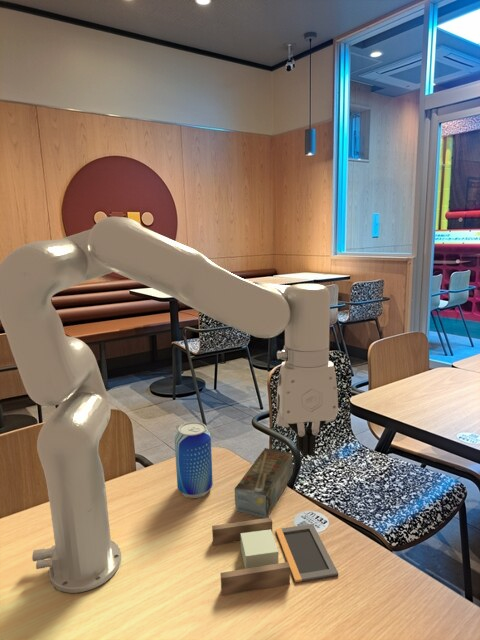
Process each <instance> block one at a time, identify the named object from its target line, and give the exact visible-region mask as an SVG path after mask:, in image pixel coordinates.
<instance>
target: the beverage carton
mask: <svg viewBox="0 0 480 640" xmlns="http://www.w3.org/2000/svg"><path fill="white" fill-rule="evenodd" d="M293 474H294V472H293V452H291V451H283V450H278V449H272V448H266V447H265V448H264V449H263V450H262V451H261V452H260V454H259V455H258V457H257V458H256V459H255V461H254V462H253V463H252V465H251V466H250V467H249V468H248V470H247V471H246V472H245V474H244V476H243V477H242V478H241V479H240V481H239V482H238V483H237V484H236V486H235V487H234V505H235V510H236V512H238V513H239V512H240V513H243V514H247V515H251V516H255V517H258V518H261V519H264V518H269V515H270V514H271V511H272V510H273V509H274V507H275V506H276V504H277V502H278V499H279V498H280V497H281V494H282V493H283V491H284V489H285V488H286V486H287V484H288V483H289V480H290V479H291V477H292V475H293Z"/></svg>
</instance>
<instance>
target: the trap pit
mask: <svg viewBox="0 0 480 640" xmlns="http://www.w3.org/2000/svg"><path fill="white" fill-rule="evenodd" d="M275 534H276V536H277V539H278V542H279V545H280V547H281V549H282V552H283V555H284V557H285V561H286V562H288V564H289V566H290V574H291V575H292V577H293V580H294V583H295V584H297V583H298V584H299V583H303V582H304V583H305V582H309V581H316V580H323V579H327V578H328V579H329V578H333V577H334V578H335V577H339V572H338V569H337V568H336V566H335V563H334V562H333V560H332V558H331V556H330V554H329V552H328V550H327V549H326V546H325V545H324V542H323V541H322V539H321V537H320V535H319V533H318V531H317V529H316V527H315V525H314V524H313V523H310V524H309V523H308V524H301V525H296V526H288V527H282V528H276V529H275Z"/></svg>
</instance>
